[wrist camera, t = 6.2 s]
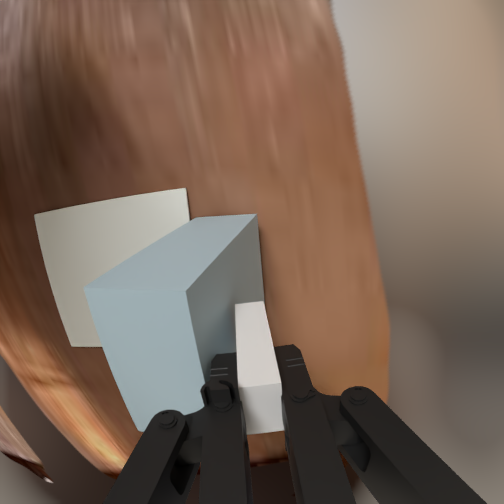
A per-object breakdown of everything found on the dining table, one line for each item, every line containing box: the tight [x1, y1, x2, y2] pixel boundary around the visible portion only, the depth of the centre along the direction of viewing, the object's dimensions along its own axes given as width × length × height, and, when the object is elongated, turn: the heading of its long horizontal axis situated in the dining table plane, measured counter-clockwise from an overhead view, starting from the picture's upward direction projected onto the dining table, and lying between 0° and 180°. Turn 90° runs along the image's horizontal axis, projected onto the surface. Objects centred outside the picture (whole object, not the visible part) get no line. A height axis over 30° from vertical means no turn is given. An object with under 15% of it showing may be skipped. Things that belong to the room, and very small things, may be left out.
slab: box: [83, 214, 265, 432], centre depth 19 cm, size 5×9×14 cm, turn 5°
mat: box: [34, 188, 190, 347], centre depth 26 cm, size 15×14×1 cm
